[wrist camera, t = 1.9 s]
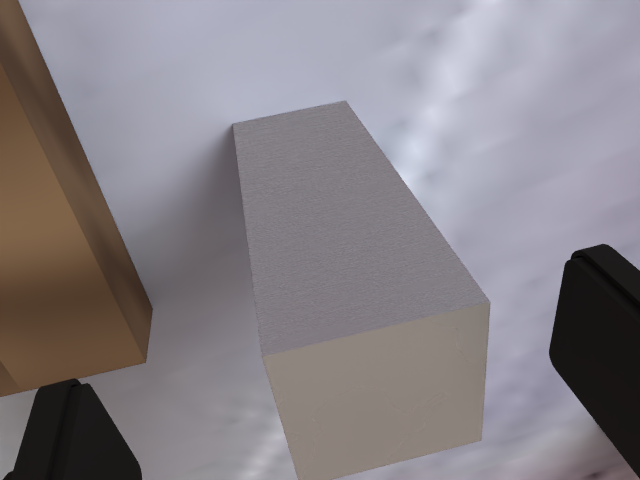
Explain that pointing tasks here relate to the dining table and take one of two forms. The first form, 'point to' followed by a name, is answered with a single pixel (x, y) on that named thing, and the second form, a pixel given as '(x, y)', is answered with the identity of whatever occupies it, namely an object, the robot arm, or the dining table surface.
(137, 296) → the walnut bore plate
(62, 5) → the dining table surface
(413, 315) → the steel square peg
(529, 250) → the dining table surface
